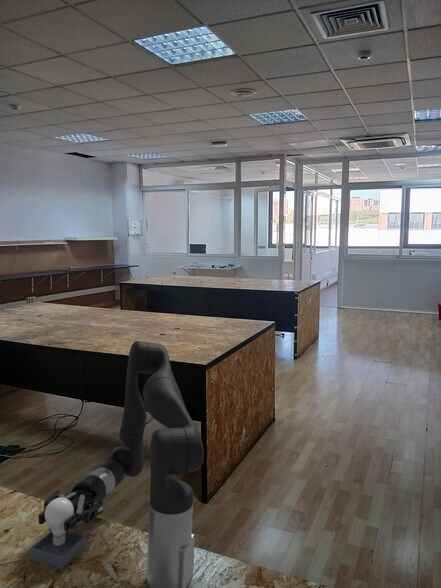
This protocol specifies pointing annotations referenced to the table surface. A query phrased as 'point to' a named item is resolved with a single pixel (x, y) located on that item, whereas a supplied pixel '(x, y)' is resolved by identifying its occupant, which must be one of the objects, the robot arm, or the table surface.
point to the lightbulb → (58, 518)
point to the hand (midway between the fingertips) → (52, 523)
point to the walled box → (57, 549)
